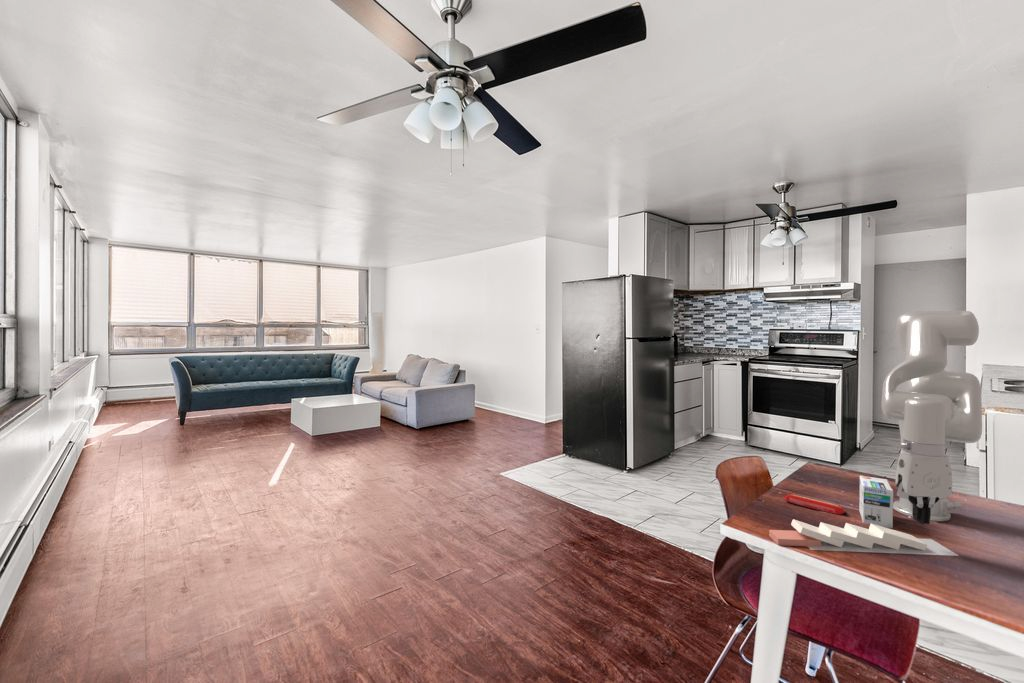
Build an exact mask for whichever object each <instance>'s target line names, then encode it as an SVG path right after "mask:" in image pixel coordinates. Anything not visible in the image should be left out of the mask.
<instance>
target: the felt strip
mask: <svg viewBox="0 0 1024 683" xmlns="http://www.w3.org/2000/svg"><path fill="white" fill-rule="evenodd" d="M916 538H917V537H916ZM917 539H919V540H920V541H922V542H924V543H925V544H927V546H926V549H925V551H924V550H920V549H917V548H914V547H910V546H907V545H903V544H900V547H899V550H897V549H894V548H890V547H887V546H883V545H880V544H876V543H873V547H872V549H870V548H867V547H863V546H860V545H856V544H853V543H849V542H846V541H844V542H843V545H842V547H838V546H835V545H833V544H830V543H827V542H824V541H821V547H813V546H806V547H808V548H809V550H810V551H828V552H829V551H831V552H832V551H833V552H851V553H852V552H853V553H855V552H857V553H877V554H878V553H880V554H904V555H905V554H906V555H927V556H928V555H930V556H931V555H932V556H952V557H953V556H954V557H955V556H956V557H959V556H960V555H959V554H957V553H955V552H953V550H950V549H949V548H947V547H945V546H943V545H942V544H940V543H939V542H937V541H936V540H934V539H932V538H917Z"/></svg>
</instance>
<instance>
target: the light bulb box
mask: <svg viewBox="0 0 1024 683" xmlns="http://www.w3.org/2000/svg"><path fill="white" fill-rule="evenodd" d="M893 502H894V489H893V488H892V487H891V484H890V483H889V479H885V478H880V477H879V478H878V477H872V476H865V475H859V506H858V509H859V511H858V512H859V513H860V516H861V517H860V518H861V521H862V524H867V525H870V524H871V523H872V524H875V525H879V526H882V527H885V528H889V529H893V528H894V526H893V525H894V521H893V519H894V508H893Z"/></svg>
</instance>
